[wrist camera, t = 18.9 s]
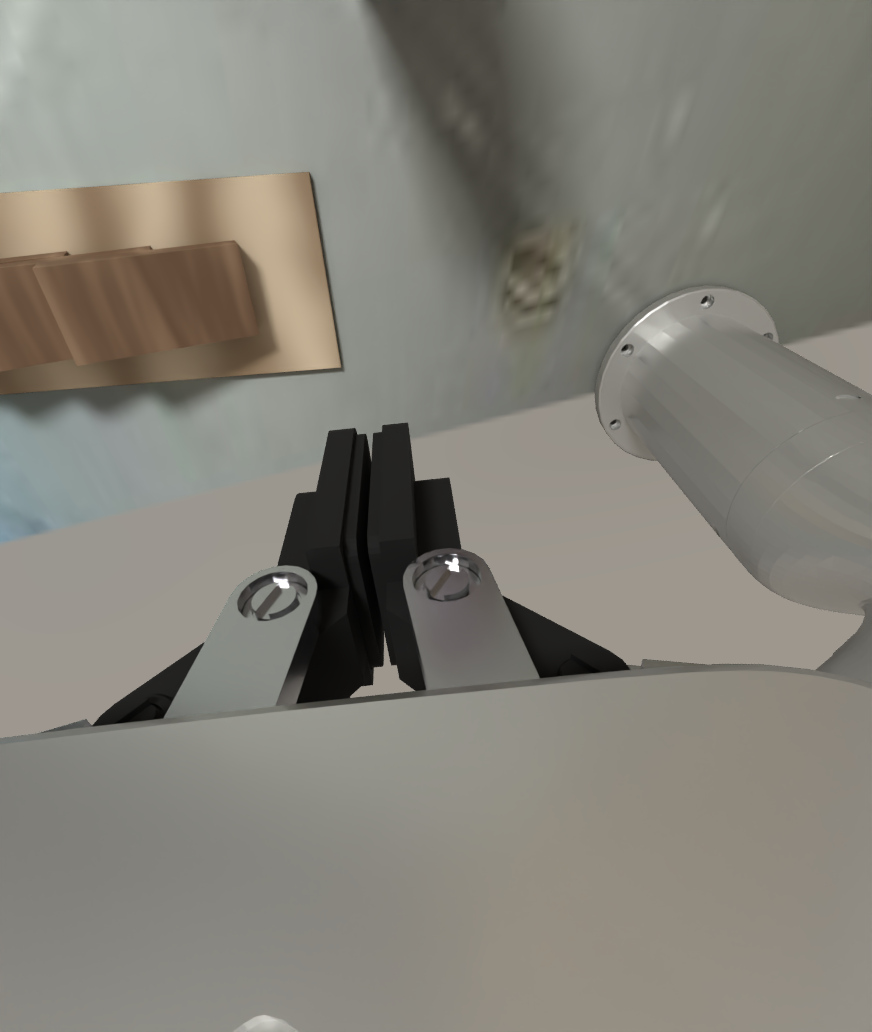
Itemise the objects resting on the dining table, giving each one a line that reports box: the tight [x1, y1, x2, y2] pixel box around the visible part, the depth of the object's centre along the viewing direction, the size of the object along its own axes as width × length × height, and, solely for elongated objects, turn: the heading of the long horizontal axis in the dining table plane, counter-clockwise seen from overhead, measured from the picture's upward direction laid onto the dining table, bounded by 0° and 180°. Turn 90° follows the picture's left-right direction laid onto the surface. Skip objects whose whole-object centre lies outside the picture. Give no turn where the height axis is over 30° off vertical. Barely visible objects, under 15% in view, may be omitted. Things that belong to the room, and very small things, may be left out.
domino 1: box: [0, 246, 151, 372], centre depth 30 cm, size 2×5×10 cm
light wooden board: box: [0, 172, 341, 395], centre depth 32 cm, size 26×11×1 cm, turn 93°
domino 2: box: [32, 240, 260, 366], centre depth 30 cm, size 2×5×10 cm
